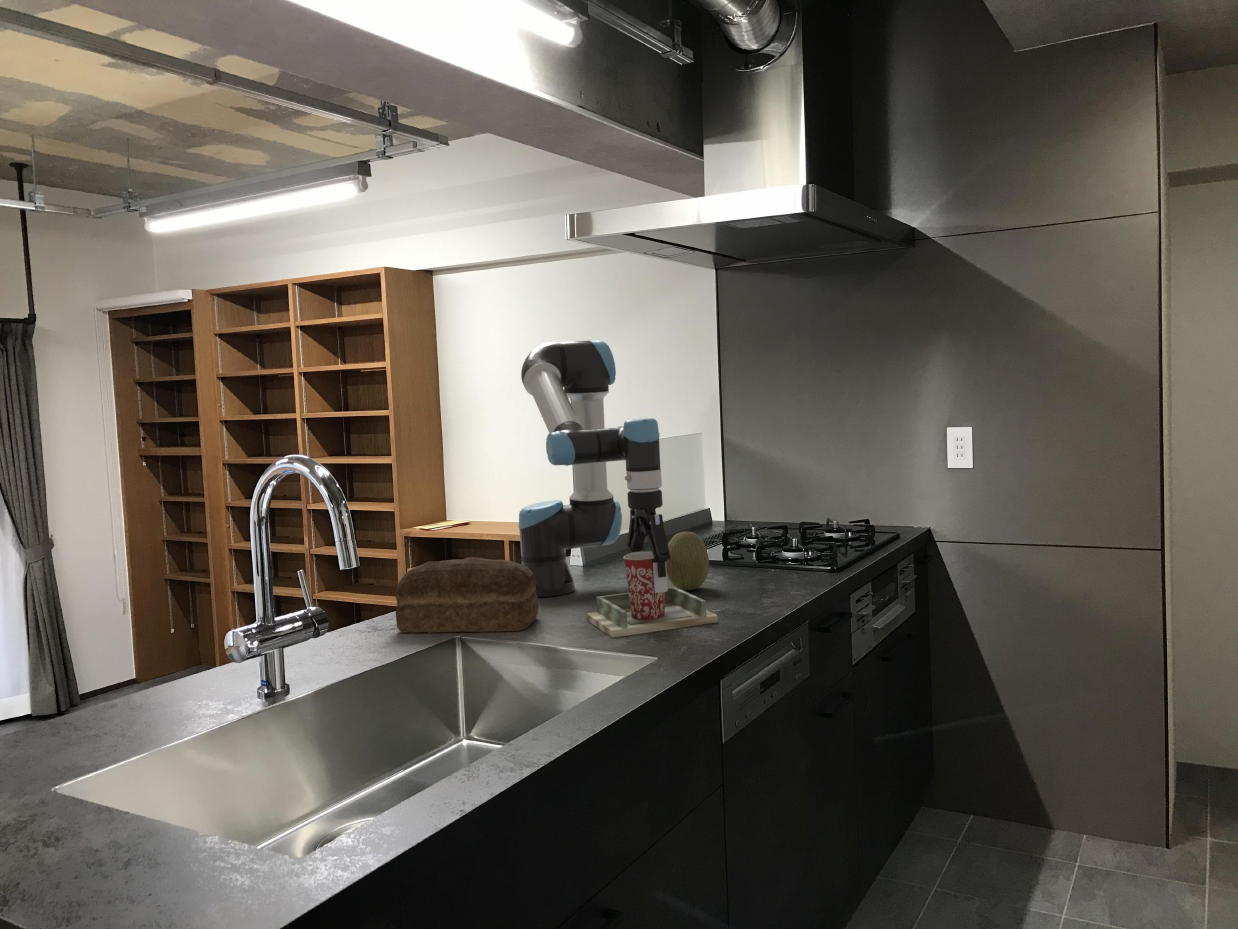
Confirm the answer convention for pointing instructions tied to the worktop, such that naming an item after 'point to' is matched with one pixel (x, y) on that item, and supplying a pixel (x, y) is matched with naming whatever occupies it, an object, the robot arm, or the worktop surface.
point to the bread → (466, 596)
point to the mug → (643, 587)
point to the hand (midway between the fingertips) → (649, 586)
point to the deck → (678, 614)
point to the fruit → (687, 561)
